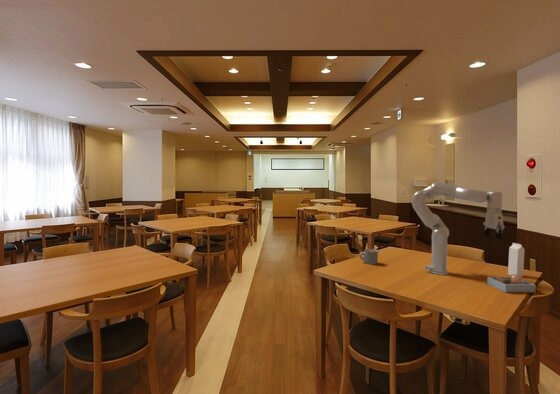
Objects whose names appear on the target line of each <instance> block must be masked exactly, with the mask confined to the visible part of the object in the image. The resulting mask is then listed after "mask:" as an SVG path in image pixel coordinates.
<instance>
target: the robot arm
mask: <svg viewBox="0 0 560 394" xmlns="http://www.w3.org/2000/svg"><path fill="white" fill-rule="evenodd" d="M438 196H444V197H448V198H454V199H459V200H464V201H469V202H474V203H477V204H478V203H479V204H480V203H481V204H482V203H486V214H485V221H483V222H482V224H483V228H484V237H491V229H492V230H493V229H494V230H495V231H496V232H495V239H496V240H501V239H502V236H503V235H502V234H503V231H504V229H505V225H504V216H503V213H502V206H503V193H502V191H494V190H492V191H491V190H490V191H487V190H477V189H471V188H467V187H462V186H461V185H456V184H451V183H450V184H449V183H445V182H439V181H434V182H432V183H431V185H429V186H427V188H424V189H422V190H421V189H420V190H417V191H416V192H415V193H414V194H413V196H412V197H411V205H412V208H413V210H414V211H415V212H416V214H417V216H418V217H419V218H420V220H421V221H422V223H423V224H424V225H425V226H426V227H427V228H430V230H431V231H432V233H431V262H430V264H429V265H428V266H427V265H424V266H423V269H424V270H428V272H429V273H432V274H434V275H441V276H442V275H443V276H445V275H449V274H450V271H449V270H447V260H448V237H449V235H450V230H449V228H448V227H447V226H446V224H445V223H444V222H443V220H442V219H441V218H440V216H439V215H438V214H436V213H433V212H432V211H431V209H430V208H429V207H428V205H427V204H426V202H428V201H430V200H432V199H433V198H436V197H438Z"/></svg>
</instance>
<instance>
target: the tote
mask: <svg viewBox="0 0 560 394" xmlns="http://www.w3.org/2000/svg"><path fill="white" fill-rule="evenodd" d="M496 278H507V279H509V280H511V276H487V283H486V284H487V285H489V286H490V287H493V288H494V289H497V290H499V291H502V292H503V293H515V294H516V293H517V294H518V293H519V292H528V294H529V293H530V294H532V293H533V294H535V293H536V289H537V288H536V287H537V285H536V284H534V283H531V282H529V281H526V280H523V279H521V284H504V283H502V282H499V281H497V280H496Z"/></svg>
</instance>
